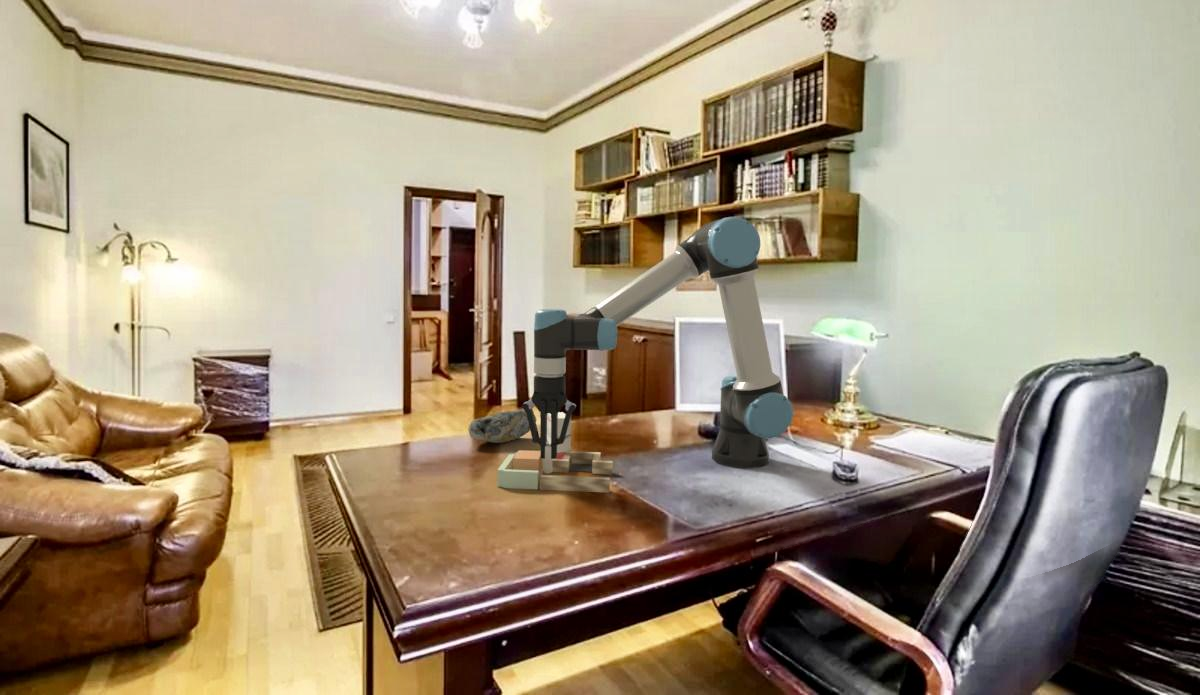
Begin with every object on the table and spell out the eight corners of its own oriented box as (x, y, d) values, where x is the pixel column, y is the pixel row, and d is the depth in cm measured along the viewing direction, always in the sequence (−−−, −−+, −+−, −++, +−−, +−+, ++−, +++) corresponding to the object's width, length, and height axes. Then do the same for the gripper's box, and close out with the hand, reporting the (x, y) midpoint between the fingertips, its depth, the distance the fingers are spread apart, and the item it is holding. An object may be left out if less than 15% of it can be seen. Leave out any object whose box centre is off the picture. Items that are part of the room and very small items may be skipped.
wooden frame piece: (613, 464, 170) (614, 452, 170) (609, 492, 148) (609, 479, 148) (553, 461, 171) (553, 450, 171) (539, 489, 149) (539, 476, 149)
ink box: (571, 461, 172) (572, 417, 171) (553, 463, 170) (554, 418, 169) (562, 452, 180) (563, 411, 179) (545, 454, 179) (546, 411, 177)
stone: (461, 442, 189) (461, 408, 188) (529, 434, 200) (529, 402, 198) (473, 451, 180) (473, 416, 178) (543, 443, 190) (544, 409, 189)
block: (542, 474, 160) (542, 451, 159) (538, 484, 153) (538, 459, 152) (518, 474, 160) (518, 450, 160) (513, 483, 153) (513, 458, 153)
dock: (547, 470, 164) (547, 454, 164) (537, 489, 149) (537, 472, 149) (510, 468, 165) (510, 453, 164) (496, 487, 150) (496, 470, 149)
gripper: (578, 373, 157) (576, 468, 160) (525, 371, 158) (524, 465, 160) (575, 378, 149) (573, 477, 152) (519, 376, 150) (518, 475, 153)
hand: (548, 471), depth 156 cm, fingers closed
